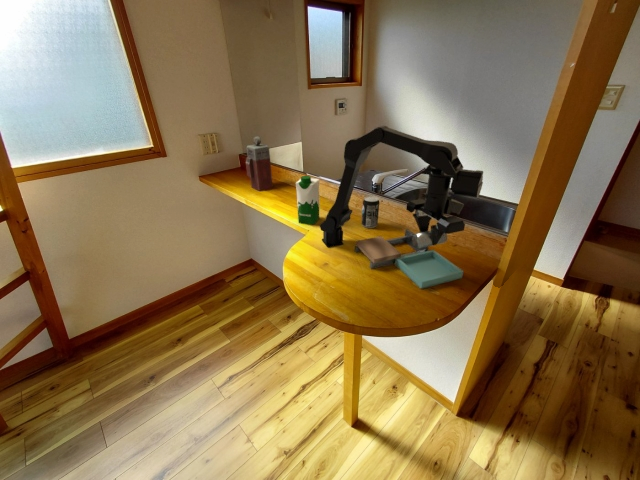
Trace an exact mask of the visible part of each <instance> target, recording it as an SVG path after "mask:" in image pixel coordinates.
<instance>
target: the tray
mask: <svg viewBox="0 0 640 480" xmlns="http://www.w3.org/2000/svg"><path fill="white" fill-rule="evenodd" d="M394 265H395V266H396V268H397V269H399V271H401V272H402V273H403V274H405V276H406V277H407V278H408V279H410V280H411V281H412V282H413V283H414V284H415V285H416V286H417V287H419V289H421V290H422V289H427V288H430V287H434V286H439V285H441V284H445V283H450V282H452V281H455V280H460V279H463V275H464V270H463V269H461V268H460V267H458V266H457V265H456V264H454V263H452V261H450V260H449V259H447V258H446V257H444V256H443V255H441V254H440V253H438V251H436V250H434V249H431V250H427V251H425V252H421V253H416V254H412V255H408V256H403V257H399V258H395V264H394Z"/></svg>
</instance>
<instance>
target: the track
mask: <svg viewBox="0 0 640 480" xmlns="http://www.w3.org/2000/svg"><path fill="white" fill-rule="evenodd" d="M404 230H405V231H404V236H399V237H394V238H389V239H385V240H386V241H387V242H388V243H390V244H391V245H392V246H395V245H400V244H405V243H406V245H408V246H409V247H410V248H412V249H413V250H414V251H413V252H408V253H404V254H401V257H403V256H408V255H412V254H416V253H421V252H425V251H429V246H427V247H423V248H416V247H415V246H414V245H413V242H412V236H413V234H415V232H413V231H411V230H410V229H409V228H406V229H404ZM354 252H355V253H356V254H357V253H361V252H362V251H361V250H360V248H359V247H358V246H357V245H355V246H354ZM362 253H363V252H362ZM391 265H395V259H391V260H386V261H382V262H377V263H373V262H372V261H371V260H370V262H369V268H370V269H371V270H373V269H377V268H381V267H386V266H391Z"/></svg>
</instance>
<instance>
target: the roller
mask: <svg viewBox="0 0 640 480" xmlns="http://www.w3.org/2000/svg"><path fill="white" fill-rule="evenodd" d="M447 241H448V234H446V233H444V234H443V235H442V237H441V238H440V240H439V241H438V243H437V244H436V245H435V246H437V245H441V244H445V243H447ZM412 242H413V245H414V246H415V247H416V248H423V247H427V246H428V247H432V246H434V245H433V244H432V237H431V229H429V230H428V231H425V232H420V231H419V232H414V234H413V236H412Z"/></svg>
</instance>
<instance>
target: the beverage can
mask: <svg viewBox="0 0 640 480" xmlns="http://www.w3.org/2000/svg"><path fill="white" fill-rule="evenodd" d="M379 211H380V200H379V197H378V196H373V195H368V196H364V197H363V200H362V208H361V226H363V227H364V228H365V229H374V228H376V227H377V226H378V221H379Z"/></svg>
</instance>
